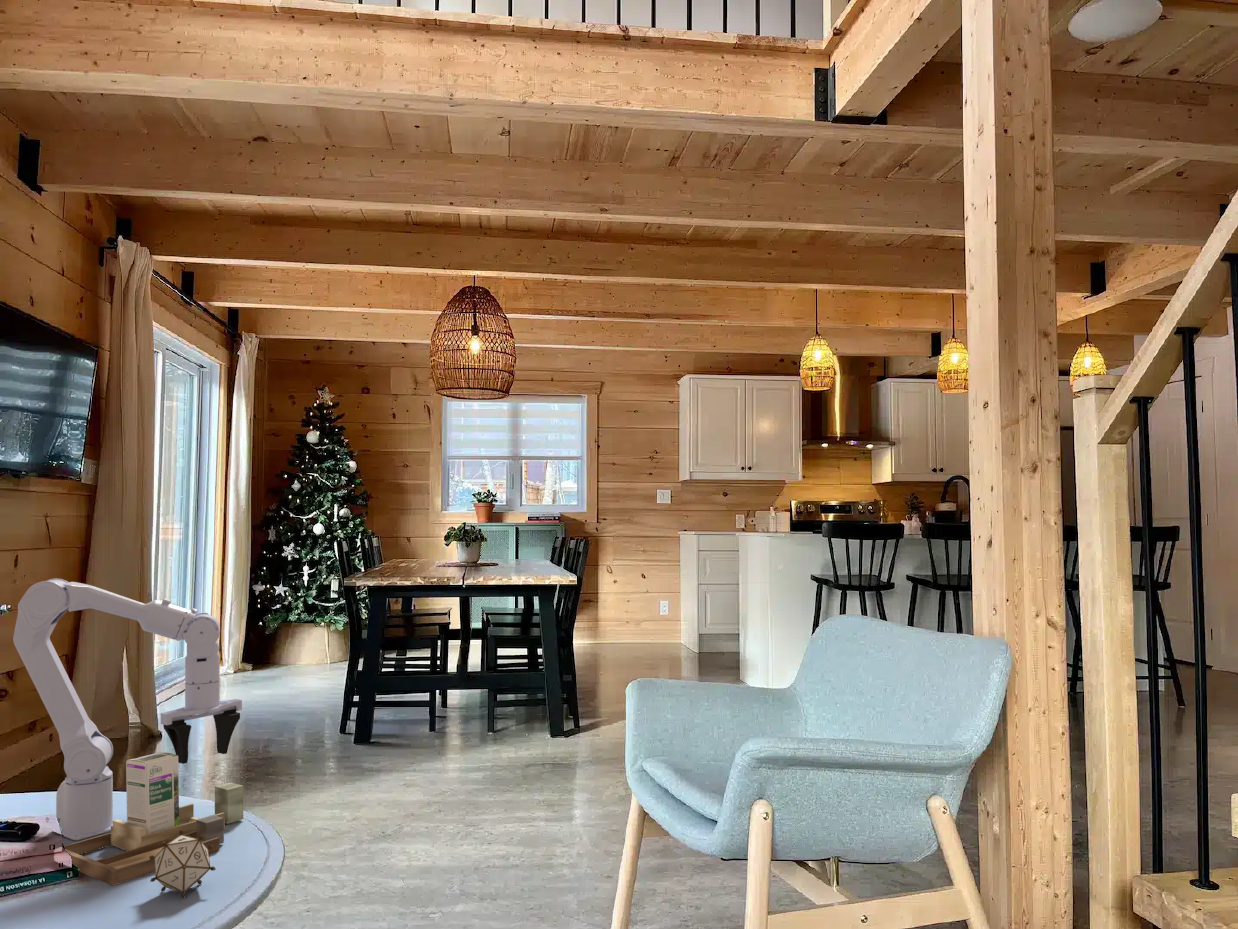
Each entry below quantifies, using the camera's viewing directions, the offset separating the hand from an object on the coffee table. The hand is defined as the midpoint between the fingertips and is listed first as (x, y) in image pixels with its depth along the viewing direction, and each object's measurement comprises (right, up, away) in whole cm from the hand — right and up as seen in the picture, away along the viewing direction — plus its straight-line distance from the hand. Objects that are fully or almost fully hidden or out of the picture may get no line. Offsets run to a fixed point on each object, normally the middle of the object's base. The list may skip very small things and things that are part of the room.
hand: (202, 758), depth 170 cm
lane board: (-1, -9, -20) cm, 22 cm away
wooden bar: (+4, -9, -22) cm, 24 cm away
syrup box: (-1, -10, -16) cm, 18 cm away
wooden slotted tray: (+1, -9, -10) cm, 14 cm away
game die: (+12, -8, -35) cm, 38 cm away
